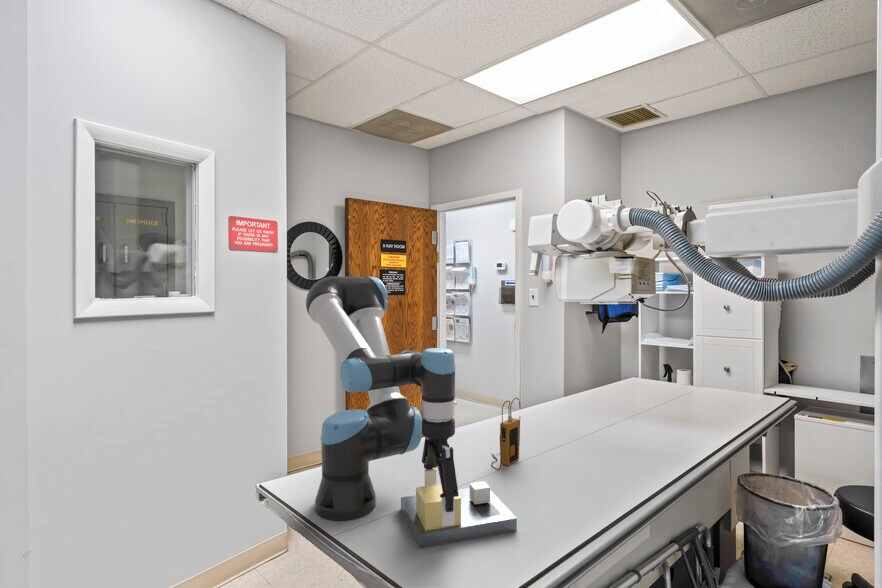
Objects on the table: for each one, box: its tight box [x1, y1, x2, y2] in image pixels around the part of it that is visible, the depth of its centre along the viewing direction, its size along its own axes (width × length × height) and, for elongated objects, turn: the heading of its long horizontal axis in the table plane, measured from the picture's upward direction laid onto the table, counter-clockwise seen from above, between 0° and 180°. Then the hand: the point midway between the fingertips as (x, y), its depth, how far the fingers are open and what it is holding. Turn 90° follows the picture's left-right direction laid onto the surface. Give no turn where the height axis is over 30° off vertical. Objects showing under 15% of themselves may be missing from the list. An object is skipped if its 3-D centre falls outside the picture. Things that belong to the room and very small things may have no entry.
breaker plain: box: [469, 480, 491, 504], centre depth 115 cm, size 4×4×4 cm
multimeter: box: [490, 397, 521, 471], centre depth 149 cm, size 15×10×20 cm
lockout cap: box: [415, 483, 461, 531], centre depth 107 cm, size 8×8×6 cm
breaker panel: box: [400, 486, 518, 549], centre depth 112 cm, size 23×18×3 cm
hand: (438, 509), depth 107 cm, fingers open, 13 cm apart
